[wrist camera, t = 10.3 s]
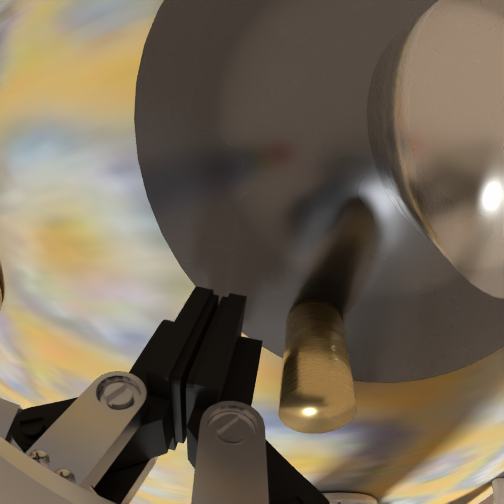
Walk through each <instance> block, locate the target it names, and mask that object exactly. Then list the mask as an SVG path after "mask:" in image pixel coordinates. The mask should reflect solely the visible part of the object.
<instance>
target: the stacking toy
mask: <svg viewBox="0 0 504 504" xmlns="http://www.w3.org/2000/svg"><path fill="white" fill-rule="evenodd" d="M1 306H2V294H1V287H0V310H1Z"/></svg>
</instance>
